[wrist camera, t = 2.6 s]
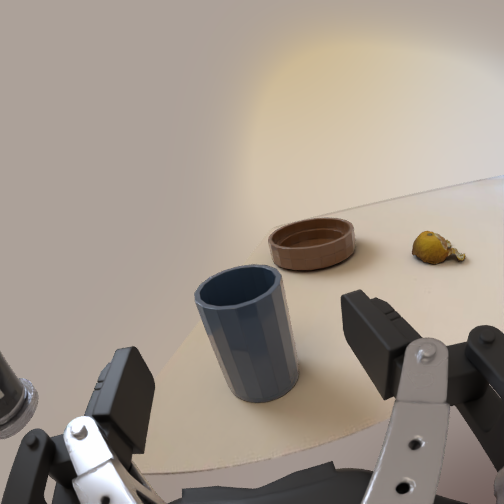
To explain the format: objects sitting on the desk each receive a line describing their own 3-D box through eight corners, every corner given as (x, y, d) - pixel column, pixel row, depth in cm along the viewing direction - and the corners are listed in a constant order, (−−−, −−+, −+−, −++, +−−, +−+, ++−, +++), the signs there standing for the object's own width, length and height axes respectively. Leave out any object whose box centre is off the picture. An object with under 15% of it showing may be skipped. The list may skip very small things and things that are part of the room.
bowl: (268, 278, 44) (262, 254, 43) (277, 244, 57) (273, 224, 55) (362, 266, 41) (360, 240, 39) (349, 233, 53) (346, 213, 52)
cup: (221, 402, 23) (181, 312, 20) (236, 354, 29) (209, 269, 26) (296, 401, 22) (276, 304, 18) (300, 349, 28) (284, 259, 24)
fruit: (471, 261, 33) (472, 237, 31) (425, 273, 34) (425, 247, 33) (445, 241, 40) (445, 220, 39) (403, 250, 42) (402, 228, 40)
